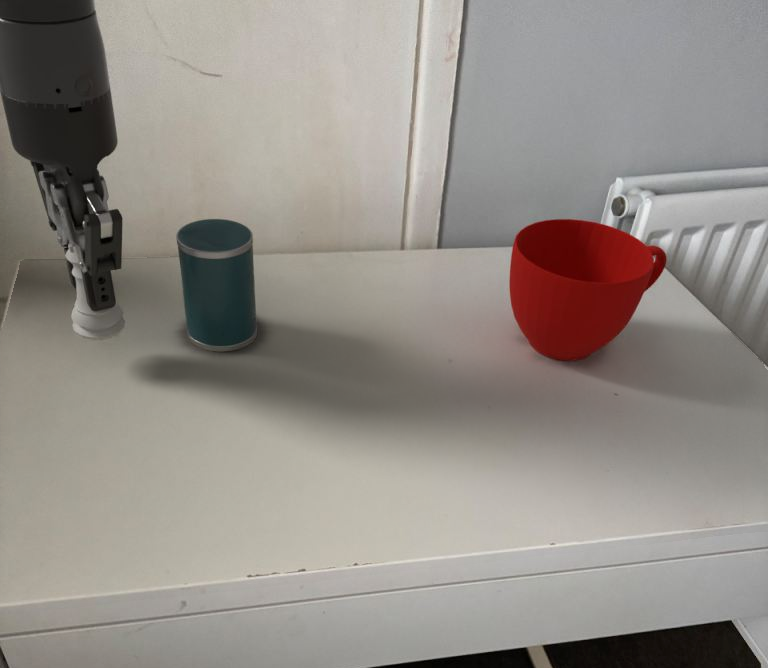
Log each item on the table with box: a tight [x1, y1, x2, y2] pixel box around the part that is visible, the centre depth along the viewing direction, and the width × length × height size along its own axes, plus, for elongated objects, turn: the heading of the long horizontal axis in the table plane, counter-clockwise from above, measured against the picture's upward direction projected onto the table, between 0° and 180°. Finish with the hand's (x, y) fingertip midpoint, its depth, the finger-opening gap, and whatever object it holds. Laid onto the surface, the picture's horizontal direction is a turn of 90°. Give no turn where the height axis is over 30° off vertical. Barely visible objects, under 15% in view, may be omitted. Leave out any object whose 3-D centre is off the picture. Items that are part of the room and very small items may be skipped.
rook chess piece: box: [64, 241, 126, 341], centre depth 71 cm, size 4×4×8 cm
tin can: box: [175, 218, 258, 353], centre depth 78 cm, size 7×7×10 cm
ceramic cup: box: [508, 218, 667, 361], centre depth 81 cm, size 13×17×10 cm
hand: (93, 296), depth 71 cm, fingers closed on rook chess piece, 3 cm apart
